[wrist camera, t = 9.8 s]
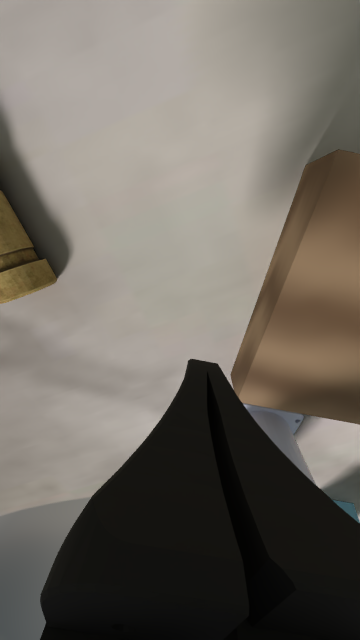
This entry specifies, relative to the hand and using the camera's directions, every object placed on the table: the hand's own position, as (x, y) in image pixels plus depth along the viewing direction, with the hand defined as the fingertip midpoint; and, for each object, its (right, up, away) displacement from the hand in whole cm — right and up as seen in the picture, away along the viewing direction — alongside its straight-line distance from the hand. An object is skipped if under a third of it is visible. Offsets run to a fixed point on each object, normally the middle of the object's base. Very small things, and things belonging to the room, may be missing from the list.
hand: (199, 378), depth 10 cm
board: (+12, +4, +8) cm, 15 cm away
